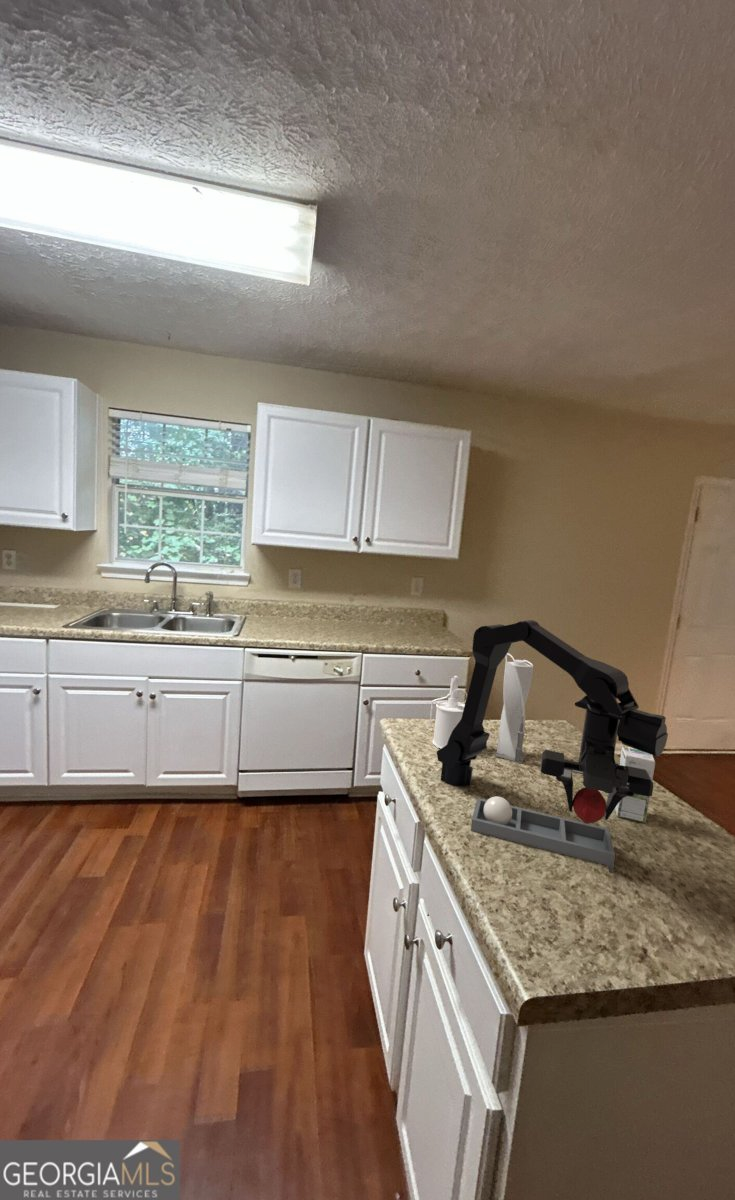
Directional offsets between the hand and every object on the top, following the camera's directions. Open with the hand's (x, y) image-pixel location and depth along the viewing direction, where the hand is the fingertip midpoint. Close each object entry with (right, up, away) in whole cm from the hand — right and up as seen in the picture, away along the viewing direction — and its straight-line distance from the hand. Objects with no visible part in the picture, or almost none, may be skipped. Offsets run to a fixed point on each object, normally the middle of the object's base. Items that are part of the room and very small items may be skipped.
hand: (587, 814), depth 95 cm
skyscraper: (-3, -2, +44) cm, 44 cm away
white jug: (-19, -1, +47) cm, 51 cm away
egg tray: (-8, -7, +3) cm, 11 cm away
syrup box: (+16, -7, +16) cm, 24 cm away
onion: (0, -2, 0) cm, 2 cm away
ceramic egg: (-16, -5, +6) cm, 17 cm away
